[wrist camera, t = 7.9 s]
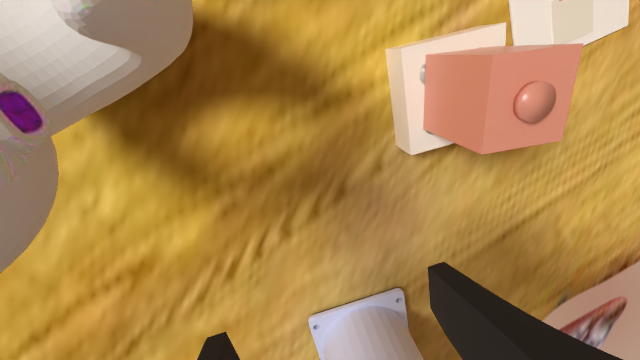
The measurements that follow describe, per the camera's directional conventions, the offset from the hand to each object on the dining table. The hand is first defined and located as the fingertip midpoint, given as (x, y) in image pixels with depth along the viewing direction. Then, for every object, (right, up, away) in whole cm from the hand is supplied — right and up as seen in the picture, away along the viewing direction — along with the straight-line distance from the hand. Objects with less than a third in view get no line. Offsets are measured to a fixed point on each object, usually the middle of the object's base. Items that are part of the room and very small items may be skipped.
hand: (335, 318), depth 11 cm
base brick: (+7, +11, +9) cm, 15 cm away
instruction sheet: (+15, +16, +8) cm, 23 cm away
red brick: (+7, +10, +7) cm, 14 cm away
